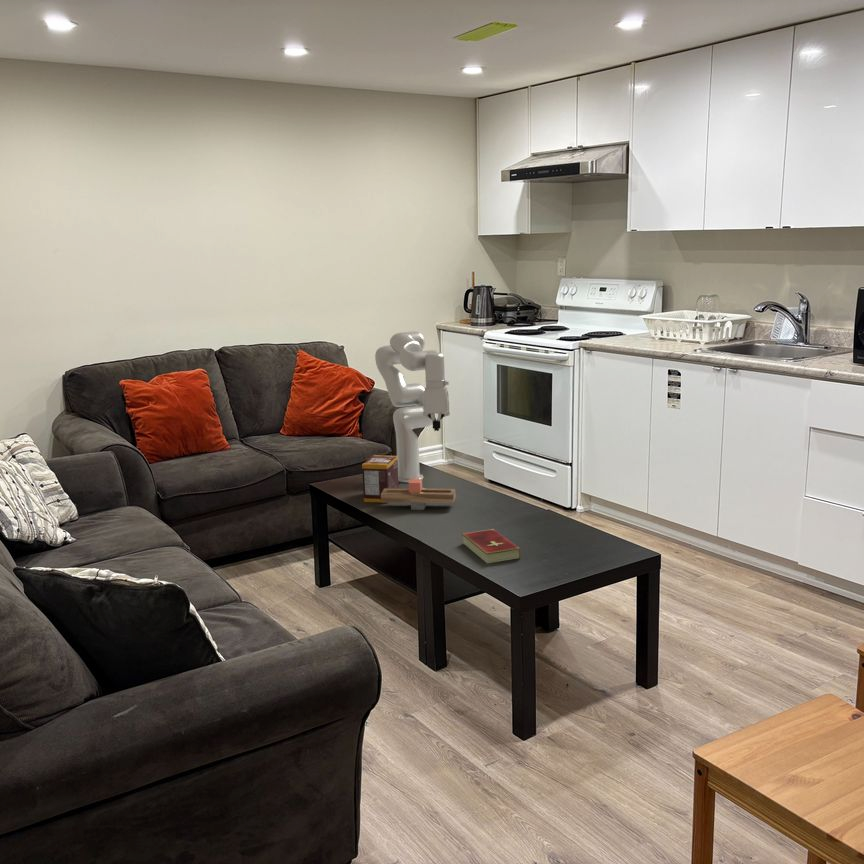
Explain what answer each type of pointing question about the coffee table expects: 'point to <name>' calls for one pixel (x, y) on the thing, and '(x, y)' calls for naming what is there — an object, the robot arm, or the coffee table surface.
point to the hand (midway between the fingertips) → (436, 430)
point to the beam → (418, 496)
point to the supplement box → (379, 476)
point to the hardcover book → (491, 546)
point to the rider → (415, 485)
